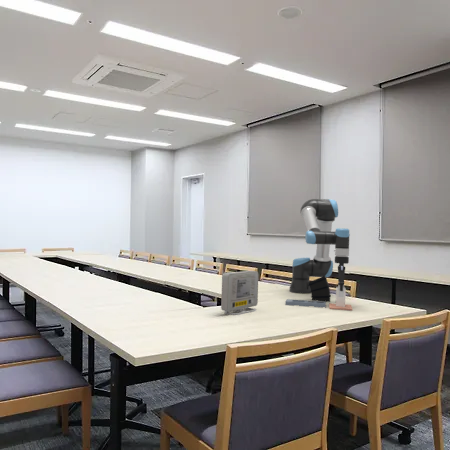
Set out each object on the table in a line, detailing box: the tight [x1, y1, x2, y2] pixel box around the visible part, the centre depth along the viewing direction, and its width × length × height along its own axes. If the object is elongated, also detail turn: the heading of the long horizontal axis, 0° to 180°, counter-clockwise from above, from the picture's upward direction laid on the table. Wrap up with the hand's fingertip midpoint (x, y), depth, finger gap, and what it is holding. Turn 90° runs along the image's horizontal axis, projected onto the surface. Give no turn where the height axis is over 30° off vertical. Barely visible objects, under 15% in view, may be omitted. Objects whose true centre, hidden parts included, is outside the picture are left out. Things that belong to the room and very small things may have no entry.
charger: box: [335, 286, 347, 307], centre depth 238 cm, size 4×5×10 cm
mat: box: [328, 302, 353, 311], centre depth 238 cm, size 14×12×1 cm
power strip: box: [284, 298, 327, 308], centre depth 242 cm, size 8×22×2 cm, turn 77°
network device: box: [220, 270, 259, 316], centre depth 217 cm, size 26×9×20 cm, turn 141°
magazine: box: [308, 276, 332, 302], centre depth 260 cm, size 4×13×15 cm, turn 66°
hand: (340, 295), depth 238 cm, fingers open, 11 cm apart
